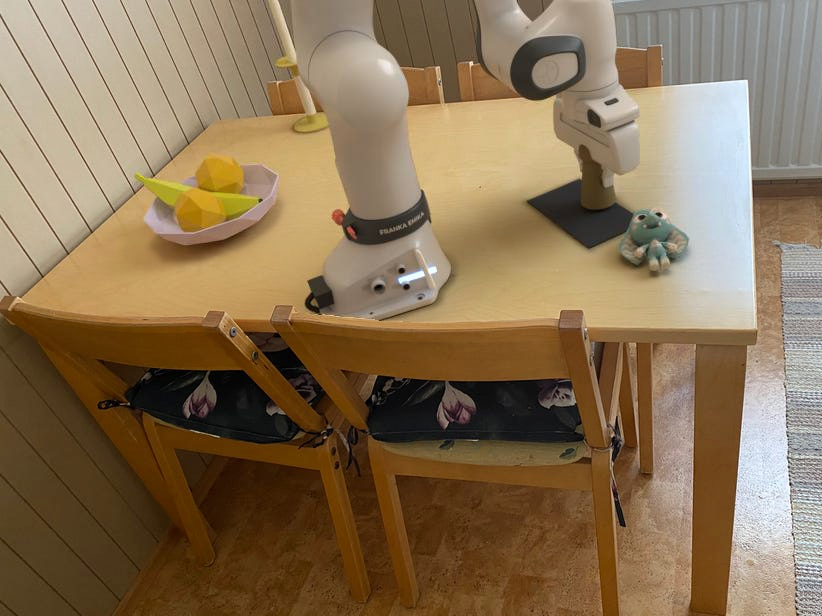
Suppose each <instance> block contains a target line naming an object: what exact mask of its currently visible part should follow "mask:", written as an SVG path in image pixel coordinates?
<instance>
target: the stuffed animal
mask: <svg viewBox="0 0 822 616" xmlns="http://www.w3.org/2000/svg"><path fill="white" fill-rule="evenodd" d="M633 214H634V215H633V217H632V220H631V222H630V225H629V228H628V230H627V231H626V232H625V233H624V235H623V237H622V239H621V240H620V242H619V243H618V245H617V246H618V247H617V251H619V253H620V254H621V256H623V257H624V259H625V260H626V261H628V262H629V263H632V264H634V265H637V266H638V265H640V264H641V263H642V262H643V261H645V259H646V258H647V259H648V267H649V269H650V271H651V272H655V271H658V270H659V269H660V268H661V269H662V270H668V269H669V268H670V267H671V262H670V261H671V260H670V258H672V259H674V260H677V259H679V258H680V257H681V255H682V254H683V253H684V252H685V250H686V249H687V247H689V246H688V245H689V241H690V238H689V237H688V235H687V234H686V233H685V232H683V231H682V230H680V229H679V227H676V226H675V225H674V224H673V223H672V222H671V220H670V216H669V215H668V214H667V213H666V211H664V209H662V208H660V207H657V206H656V207H652V208H647V209H639V210H637V211H635V212H634V213H633Z"/></svg>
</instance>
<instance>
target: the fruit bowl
mask: <svg viewBox="0 0 822 616" xmlns="http://www.w3.org/2000/svg"><path fill="white" fill-rule="evenodd" d="M194 174H195V175H192V176H189V177H187V178H185V179H183V180H182V181H180V182H173V181H169V180H163V179H157V178H151V177H145V176H143V175H142V174H140V173H139V172H136V173H135V174H134V176H133V177H134V178H135V179H137V180H138V181H140V182H141V183H142V184H143V186H144V187H145V188H146V189H147V190H148V191H150V192H151V193H152V194H154V195H155V198H154V199H153V201H152V203H151V205H150V207H149V208H148V209H147V211H146V213H145V214H144V216H143V218H142V221H143V222H144V223H145V224H146V225H147V226H148V227H149V228H150V229H151V230H152V231H153V232H154V233H155V234H156V235H158V236H159V237H161V238H162V239H163V240H164V241H169V242H172V243H175V244H178V245H181V246H190V245H199V244H206V243H211V242H218V241H224V240H225V239H228V238H230V237H233V236H235V235H237V234H239V233H242V232H243V231H245V230H248V229H249V228H250V227H252V226H254V225H255V224H257V223H258V222H259V221H261V219H262V218H263V217H264V216H265V215H266V214H267V213H268V212H269V211H270V210H271V209H272V207H273V206H274V205H275V204H276V202H277V194H278V187H279V180H280V174H279V173H276V172H275V171H273V170H272V169H270V168H269V167H267V166H265V164H263V163H252V164H251V163H250V164H238V162H237V161H236V160H235V159H234V158H233V156H230V155H225V154H219V153H209V155H207V156H206V157H205V158H204V159H203V161H202V162H201V164H200V165H199V166H198V168H197V170H196V171H195V172H194Z"/></svg>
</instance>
